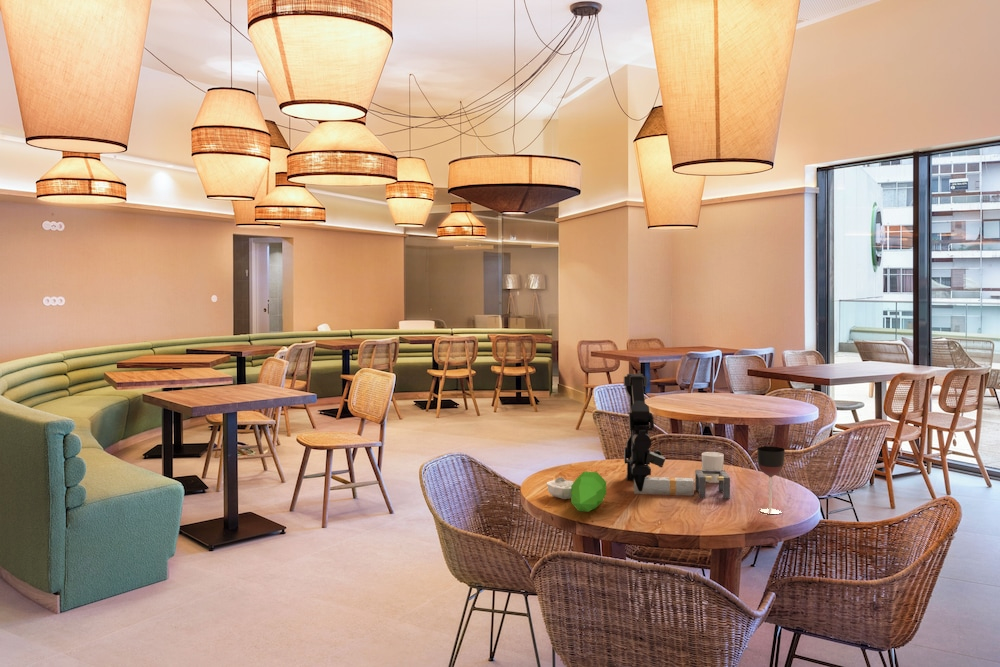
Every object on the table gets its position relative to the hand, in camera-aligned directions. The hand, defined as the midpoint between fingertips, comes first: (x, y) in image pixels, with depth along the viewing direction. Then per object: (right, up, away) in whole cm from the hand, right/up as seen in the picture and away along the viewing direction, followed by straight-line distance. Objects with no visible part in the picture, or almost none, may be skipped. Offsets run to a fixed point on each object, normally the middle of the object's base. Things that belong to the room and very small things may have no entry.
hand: (639, 489), depth 256 cm
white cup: (+30, 0, +15) cm, 33 cm away
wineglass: (+37, -2, -24) cm, 44 cm away
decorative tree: (-21, -2, -20) cm, 30 cm away
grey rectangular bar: (+8, -1, -1) cm, 8 cm away
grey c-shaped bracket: (+24, -1, -3) cm, 25 cm away
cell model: (-28, -2, -6) cm, 28 cm away
